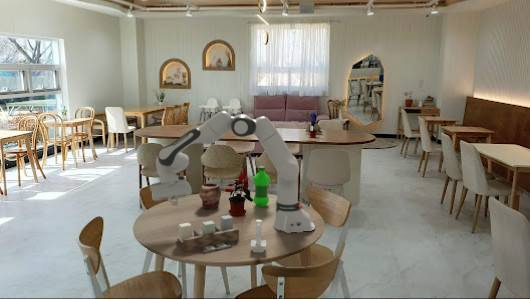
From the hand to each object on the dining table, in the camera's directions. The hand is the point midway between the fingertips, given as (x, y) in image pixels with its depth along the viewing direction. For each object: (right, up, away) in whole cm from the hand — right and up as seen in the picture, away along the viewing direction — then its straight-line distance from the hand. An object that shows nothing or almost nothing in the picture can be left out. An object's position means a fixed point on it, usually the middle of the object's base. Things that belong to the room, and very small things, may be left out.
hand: (175, 205), depth 203 cm
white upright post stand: (+43, -19, -15) cm, 49 cm away
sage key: (+18, -15, -7) cm, 25 cm away
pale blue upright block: (+26, -14, +1) cm, 30 cm away
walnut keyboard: (+19, -17, -8) cm, 27 cm away
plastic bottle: (+43, -7, +48) cm, 65 cm away
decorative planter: (+12, -7, +45) cm, 48 cm away
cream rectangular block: (+7, -16, -10) cm, 20 cm away
